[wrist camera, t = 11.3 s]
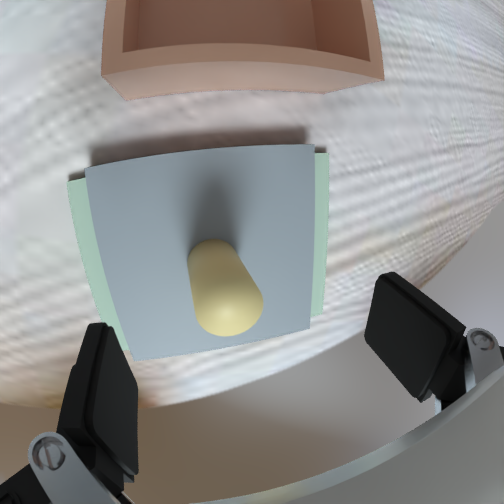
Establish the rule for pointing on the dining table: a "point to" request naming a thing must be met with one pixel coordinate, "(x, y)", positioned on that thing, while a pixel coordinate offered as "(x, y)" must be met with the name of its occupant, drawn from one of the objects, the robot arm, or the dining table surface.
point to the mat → (95, 267)
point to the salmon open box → (239, 46)
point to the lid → (207, 245)
